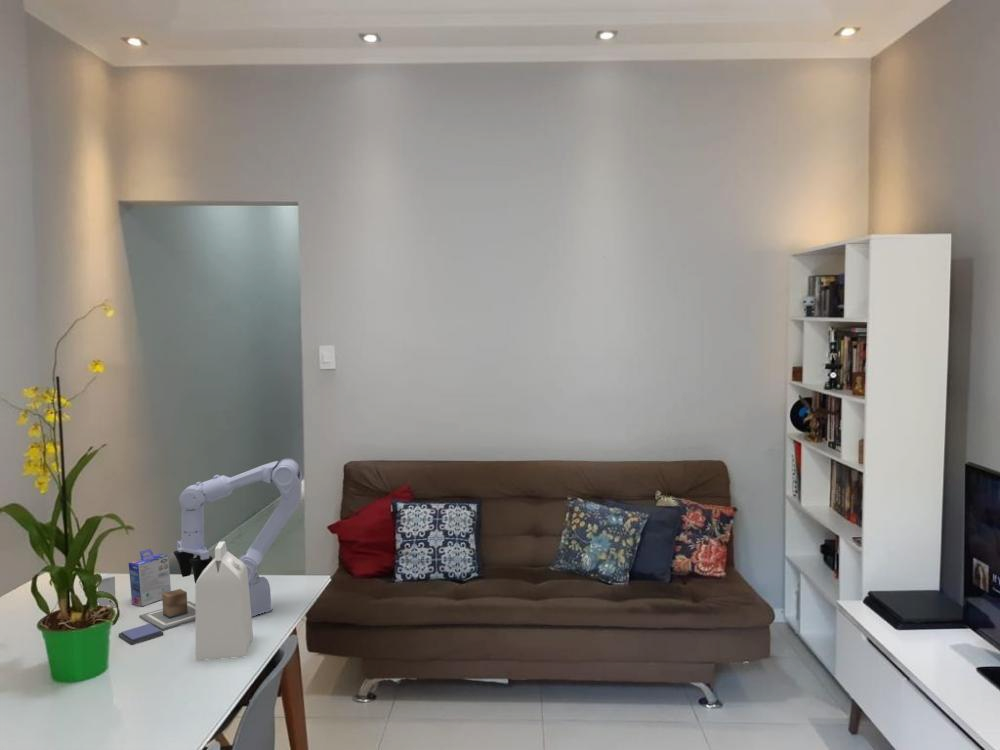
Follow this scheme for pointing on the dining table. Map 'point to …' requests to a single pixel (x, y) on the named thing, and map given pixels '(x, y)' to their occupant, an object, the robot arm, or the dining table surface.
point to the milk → (223, 608)
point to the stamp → (174, 603)
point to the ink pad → (140, 634)
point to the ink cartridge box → (149, 578)
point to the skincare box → (107, 588)
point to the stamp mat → (165, 623)
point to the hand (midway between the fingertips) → (192, 579)
